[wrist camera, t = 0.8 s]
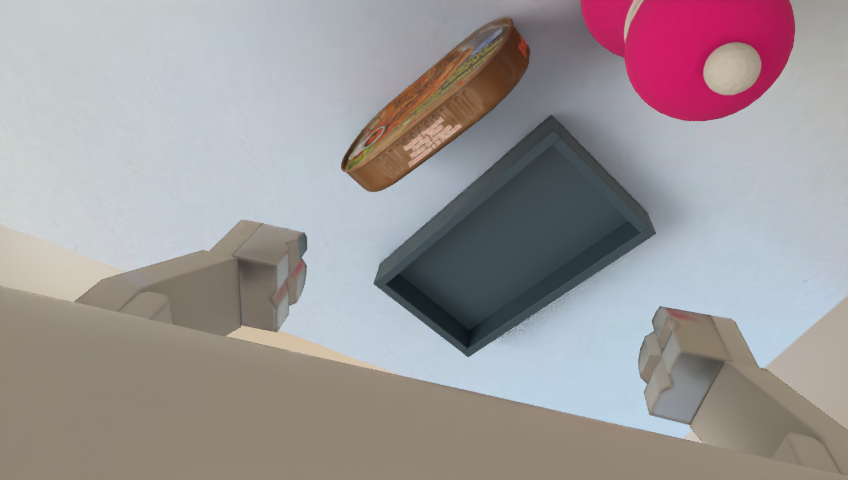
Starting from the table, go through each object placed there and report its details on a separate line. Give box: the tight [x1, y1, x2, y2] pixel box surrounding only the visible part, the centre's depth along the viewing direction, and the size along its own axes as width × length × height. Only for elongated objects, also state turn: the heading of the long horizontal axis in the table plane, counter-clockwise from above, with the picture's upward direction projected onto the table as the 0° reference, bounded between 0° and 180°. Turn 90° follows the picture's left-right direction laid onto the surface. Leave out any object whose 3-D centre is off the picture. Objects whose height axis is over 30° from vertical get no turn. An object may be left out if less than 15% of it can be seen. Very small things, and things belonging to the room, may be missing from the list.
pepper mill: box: [581, 0, 795, 121], centre depth 27 cm, size 7×7×20 cm
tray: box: [374, 115, 656, 357], centre depth 46 cm, size 12×20×3 cm, turn 138°
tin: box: [341, 17, 530, 192], centre depth 37 cm, size 15×3×8 cm, turn 131°
